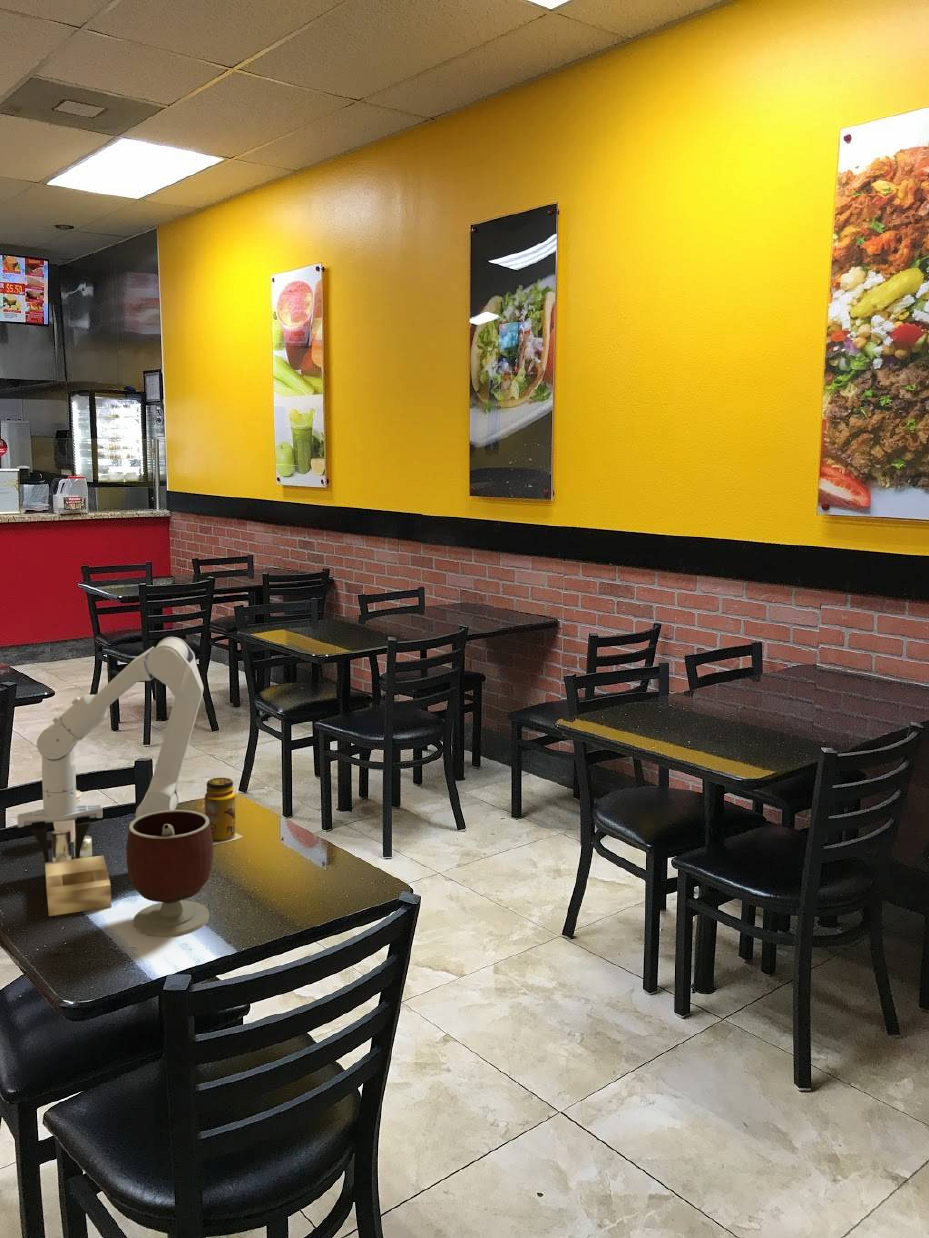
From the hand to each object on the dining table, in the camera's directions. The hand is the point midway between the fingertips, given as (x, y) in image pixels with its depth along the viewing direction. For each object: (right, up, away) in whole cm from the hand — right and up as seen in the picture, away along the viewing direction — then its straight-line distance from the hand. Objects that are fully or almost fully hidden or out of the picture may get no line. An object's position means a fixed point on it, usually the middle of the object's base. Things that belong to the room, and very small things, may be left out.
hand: (62, 858), depth 186 cm
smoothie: (-6, 0, +16) cm, 17 cm away
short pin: (+1, -2, +7) cm, 8 cm away
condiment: (+24, -1, +20) cm, 31 cm away
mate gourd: (+26, -7, -18) cm, 32 cm away
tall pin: (0, -3, 0) cm, 3 cm away
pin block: (+6, -4, -9) cm, 12 cm away
